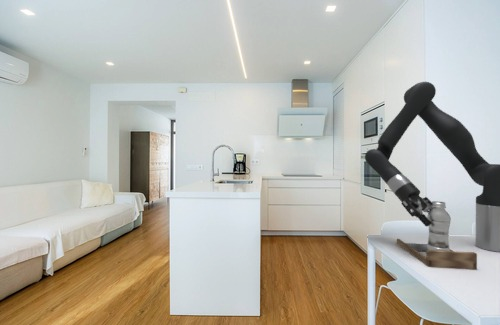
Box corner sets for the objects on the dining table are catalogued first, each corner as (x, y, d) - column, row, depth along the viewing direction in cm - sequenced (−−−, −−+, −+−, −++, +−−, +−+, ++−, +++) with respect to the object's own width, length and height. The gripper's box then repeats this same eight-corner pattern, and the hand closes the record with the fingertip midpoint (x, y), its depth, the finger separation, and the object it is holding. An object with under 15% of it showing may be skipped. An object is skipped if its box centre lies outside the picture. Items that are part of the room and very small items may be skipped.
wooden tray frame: (433, 245, 97) (433, 233, 97) (476, 269, 75) (476, 253, 75) (396, 243, 99) (396, 231, 99) (428, 266, 77) (428, 251, 77)
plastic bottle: (421, 255, 86) (422, 200, 86) (440, 255, 86) (441, 200, 86) (435, 263, 80) (435, 203, 80) (455, 263, 80) (456, 203, 80)
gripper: (398, 182, 88) (433, 220, 78) (420, 181, 95) (455, 215, 84) (384, 194, 93) (416, 231, 83) (406, 192, 99) (438, 227, 89)
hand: (435, 223), depth 84 cm, fingers open, 8 cm apart
